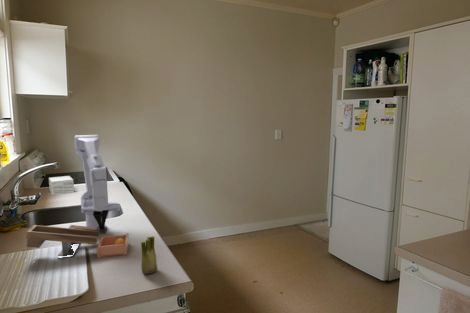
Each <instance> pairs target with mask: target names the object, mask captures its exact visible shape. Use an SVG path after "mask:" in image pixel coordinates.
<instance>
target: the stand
mask: <svg viewBox="0 0 470 313" xmlns="http://www.w3.org/2000/svg"><path fill="white" fill-rule="evenodd" d="M73 244H80V245H81V244H82V243H72V242H61V251H60V252H59V254H58V256H67V255H73V253H74V251H73V249H71V248H72V246H71V245H73ZM58 256H57V257H58Z"/></svg>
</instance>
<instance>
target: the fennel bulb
mask: <svg viewBox="0 0 470 313" xmlns="http://www.w3.org/2000/svg"><path fill="white" fill-rule="evenodd" d="M140 244H141V245H140V246H141V264H140V267H141V268H140V269H141V272H142V274H144V275H147V274H148V275H149V274H154V273H155V272H157V270H158V264H157V262H158V261H157V254H156V249H155V236H154V235H153V236H147V238H146V239H145V240H142V241H141V242H140Z"/></svg>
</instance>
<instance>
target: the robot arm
mask: <svg viewBox="0 0 470 313" xmlns="http://www.w3.org/2000/svg"><path fill="white" fill-rule="evenodd" d="M73 141H74V148H75V149H74V150H75V153H76V155H77V156H79V157H80V159H81V160H82V161H81V162H82V167H83V174H84V181H85V182H84V183H85V188H86V191H85V192H84V193H83V194H81V195H80V196H81V197H80V208H81V209H80V211H81V212H80V213H81V214H85V226H87V227H97V226H99V229H104V228H105V227H107V224H106V221H107V217H108V215H109V212H111V211H112V212H113V211H117V212H118V211H120V210H121V205H120V204H109V192H108V180H109V175H110V174H109V169H108V167H107V165H106V164H104V162H103V158H102V157H101V155H99V154H98V152H99V149H100V136H99V135H98V134H84V135H83V134H81V135H80V134H79V135H78V134H76V135H75V136H74V139H73Z"/></svg>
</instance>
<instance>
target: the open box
mask: <svg viewBox="0 0 470 313" xmlns="http://www.w3.org/2000/svg"><path fill="white" fill-rule="evenodd" d="M119 238H122V239H124V240H125V243H124V244H119V245H114V244H115V241H116V240H117V239H119ZM129 245H130V244H129V232H126V234H119V235H117V234H116V235H105V236H102V237H101V238H100V240H99V242H98V245H97V247H96V253H97V254H96V256H97V258H98V259H100V258H106V257H115V256H116V257H117V256H122V255H123V256H127V253H128V249H129Z"/></svg>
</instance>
